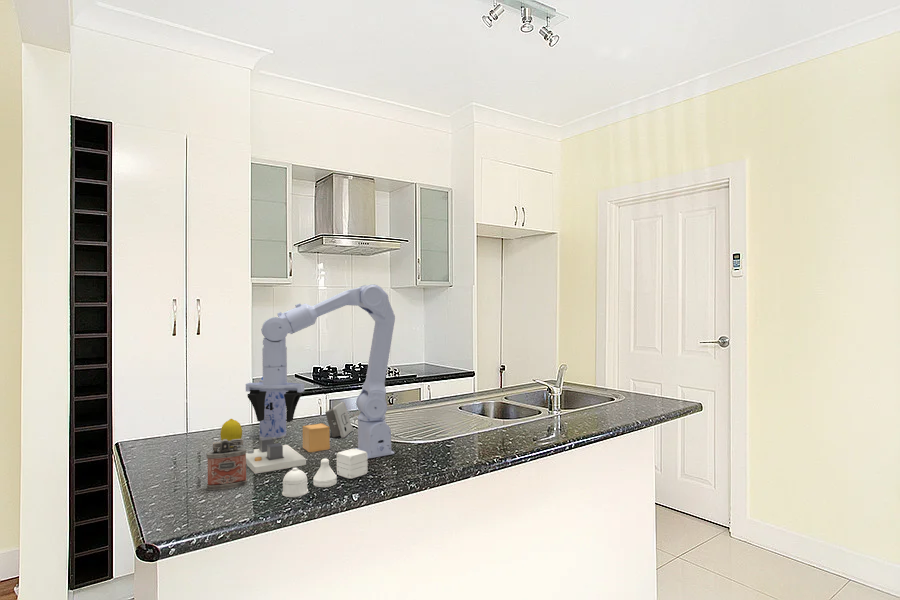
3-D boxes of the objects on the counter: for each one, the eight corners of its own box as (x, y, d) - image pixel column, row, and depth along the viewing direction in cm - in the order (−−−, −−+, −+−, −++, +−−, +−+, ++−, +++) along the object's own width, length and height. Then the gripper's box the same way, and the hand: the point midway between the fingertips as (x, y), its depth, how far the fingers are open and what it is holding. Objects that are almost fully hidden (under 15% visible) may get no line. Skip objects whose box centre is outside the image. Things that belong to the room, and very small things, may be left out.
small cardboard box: (329, 449, 146) (329, 426, 146) (309, 452, 142) (309, 429, 142) (322, 444, 150) (322, 423, 150) (302, 447, 147) (302, 425, 147)
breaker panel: (306, 464, 132) (305, 446, 132) (255, 473, 125) (254, 454, 125) (287, 450, 145) (286, 433, 145) (240, 457, 139) (240, 439, 139)
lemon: (216, 449, 146) (215, 420, 146) (230, 444, 151) (230, 416, 151) (232, 451, 144) (232, 421, 144) (246, 446, 149) (246, 417, 149)
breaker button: (282, 457, 133) (282, 445, 133) (270, 459, 131) (270, 447, 131) (279, 455, 135) (279, 443, 135) (267, 457, 133) (267, 444, 133)
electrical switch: (344, 438, 157) (341, 406, 157) (327, 440, 157) (323, 408, 158) (353, 431, 166) (350, 401, 166) (336, 432, 167) (333, 402, 167)
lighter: (206, 491, 114) (206, 443, 114) (206, 486, 117) (206, 440, 117) (247, 485, 117) (246, 439, 117) (246, 480, 120) (246, 436, 120)
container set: (353, 471, 127) (353, 447, 127) (367, 475, 124) (367, 451, 124) (277, 494, 112) (276, 467, 112) (291, 500, 109) (290, 472, 109)
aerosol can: (253, 438, 158) (252, 370, 158) (269, 432, 166) (269, 366, 166) (276, 440, 156) (276, 370, 156) (292, 433, 163) (291, 367, 163)
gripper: (309, 364, 136) (309, 418, 136) (255, 363, 138) (255, 416, 138) (297, 367, 129) (297, 424, 129) (240, 367, 131) (241, 422, 131)
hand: (275, 420), depth 133 cm, fingers open, 7 cm apart
